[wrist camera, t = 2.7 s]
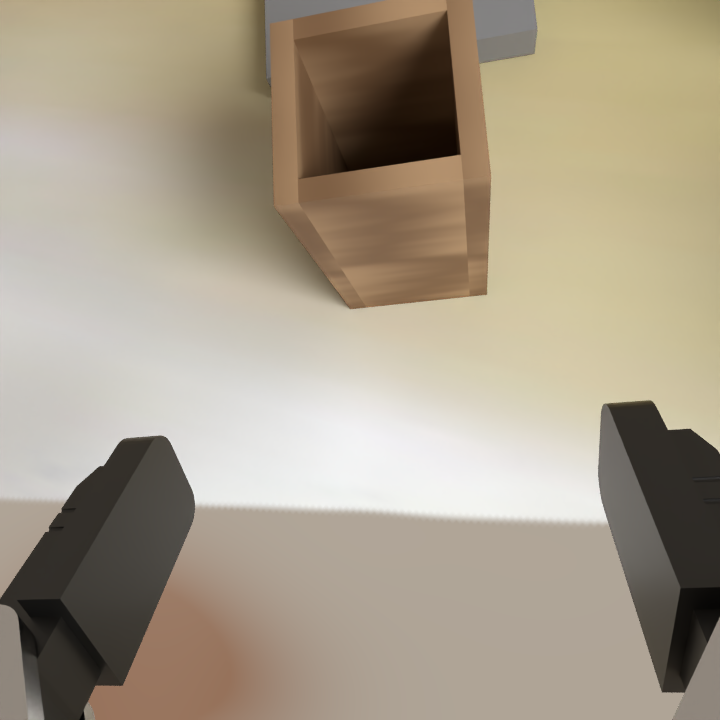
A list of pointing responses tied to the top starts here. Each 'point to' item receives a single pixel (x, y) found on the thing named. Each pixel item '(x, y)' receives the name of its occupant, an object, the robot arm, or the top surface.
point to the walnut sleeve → (384, 148)
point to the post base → (491, 14)
